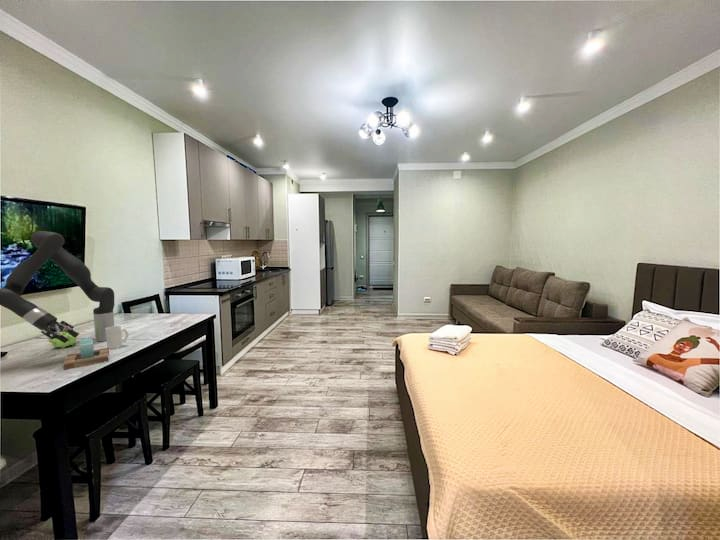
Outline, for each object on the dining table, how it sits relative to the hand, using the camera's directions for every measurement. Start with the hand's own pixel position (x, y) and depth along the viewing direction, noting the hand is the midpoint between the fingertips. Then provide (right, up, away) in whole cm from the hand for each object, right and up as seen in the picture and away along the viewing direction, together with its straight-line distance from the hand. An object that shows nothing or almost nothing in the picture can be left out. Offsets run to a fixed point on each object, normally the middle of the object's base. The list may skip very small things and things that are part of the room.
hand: (72, 338), depth 143 cm
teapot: (-27, -10, +22) cm, 36 cm away
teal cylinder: (+5, -12, +3) cm, 13 cm away
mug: (+5, -10, +21) cm, 24 cm away
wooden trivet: (+5, -12, +3) cm, 13 cm away
